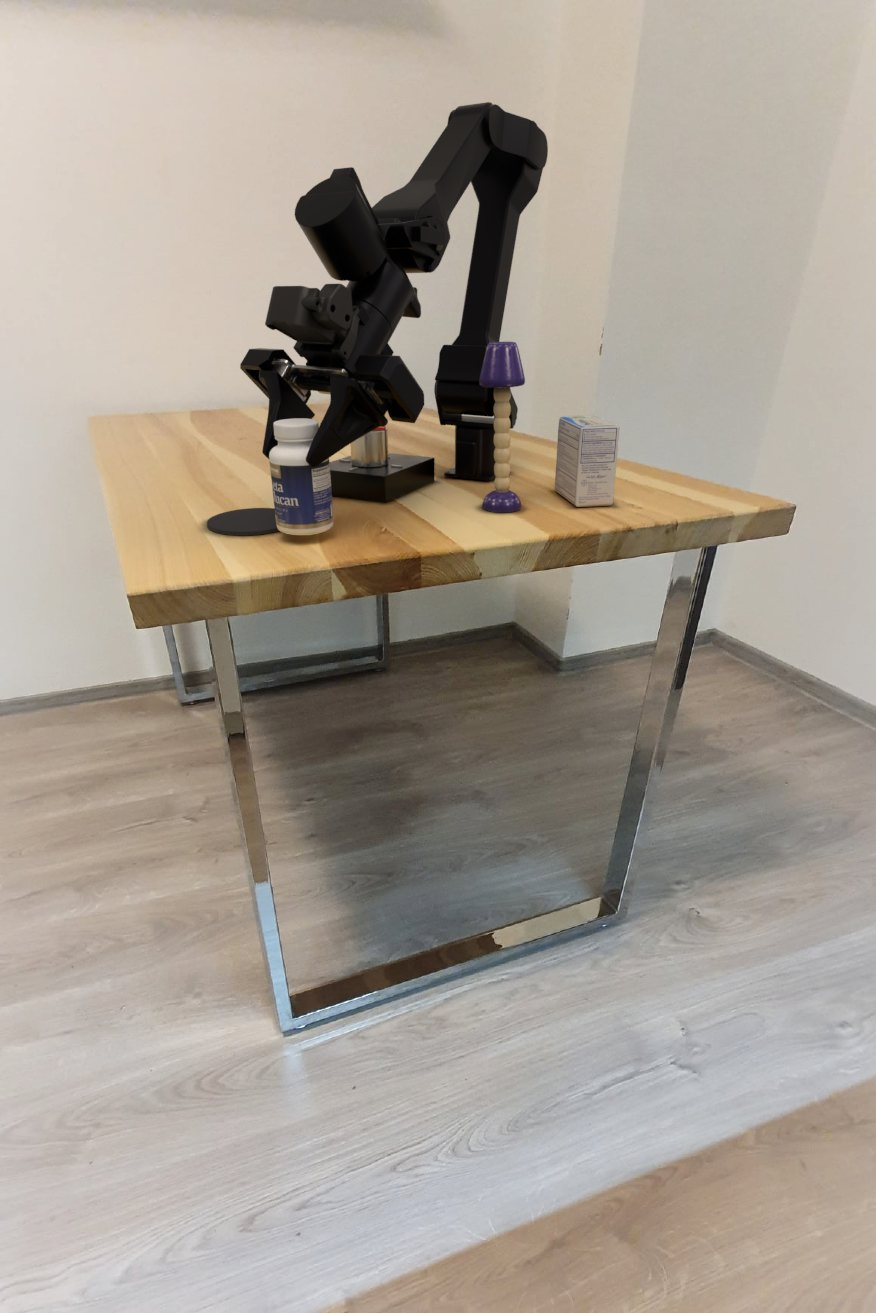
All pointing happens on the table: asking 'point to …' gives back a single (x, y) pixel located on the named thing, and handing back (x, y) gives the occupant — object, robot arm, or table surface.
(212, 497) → the table surface
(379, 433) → the dial
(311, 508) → the pill bottle
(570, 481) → the medicine box
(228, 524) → the coaster
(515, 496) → the toy lamp
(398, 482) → the panel
